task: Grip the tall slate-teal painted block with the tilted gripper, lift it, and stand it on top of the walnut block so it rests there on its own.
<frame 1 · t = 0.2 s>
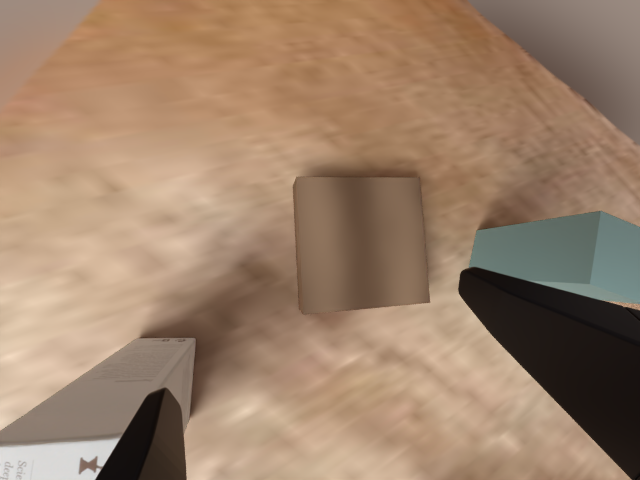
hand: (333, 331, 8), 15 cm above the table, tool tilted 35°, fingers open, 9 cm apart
teal block: (492, 260, 27), on the table
skincare box: (166, 380, 21), on the table
walnut block: (352, 244, 25), on the table
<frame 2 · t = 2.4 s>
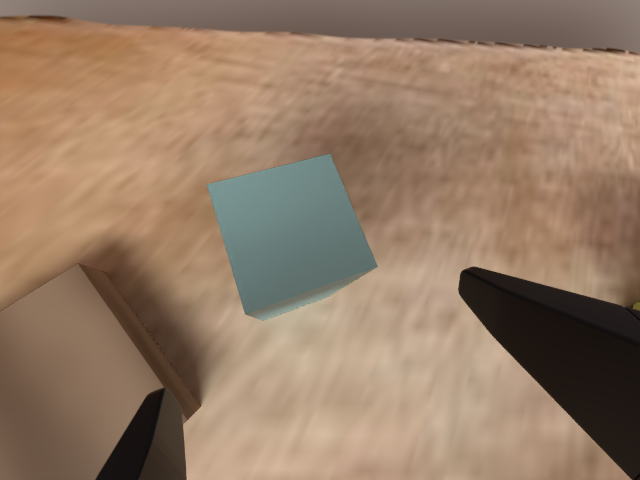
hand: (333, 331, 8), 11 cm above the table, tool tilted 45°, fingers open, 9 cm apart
teal block: (285, 275, 19), on the table
walnut block: (71, 398, 16), on the table
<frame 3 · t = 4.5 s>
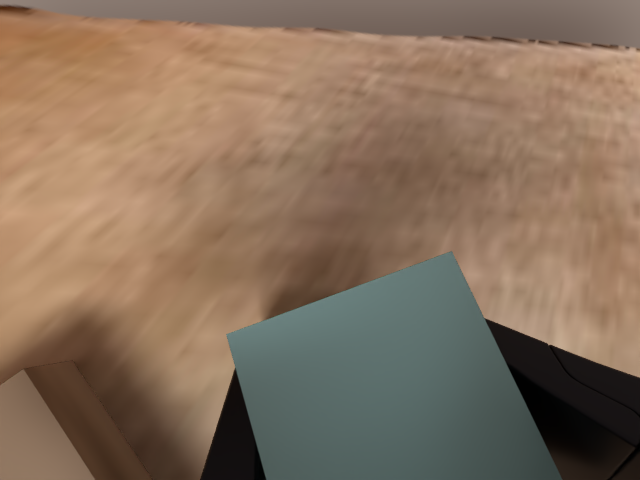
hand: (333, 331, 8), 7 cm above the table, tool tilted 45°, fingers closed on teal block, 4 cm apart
teal block: (318, 355, 14), on the table, touching gripper
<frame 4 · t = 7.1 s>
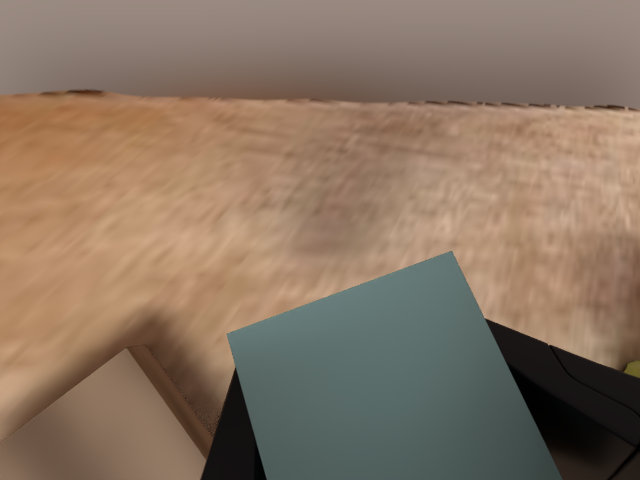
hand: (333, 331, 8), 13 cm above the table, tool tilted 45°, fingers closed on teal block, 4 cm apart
teal block: (319, 355, 14), point 7 cm above the table, touching gripper
walnut block: (120, 464, 18), on the table
when the fingers open (11 cm above the table, at t = 9.9 s): teal block drops 2 cm, resting on walnut block.
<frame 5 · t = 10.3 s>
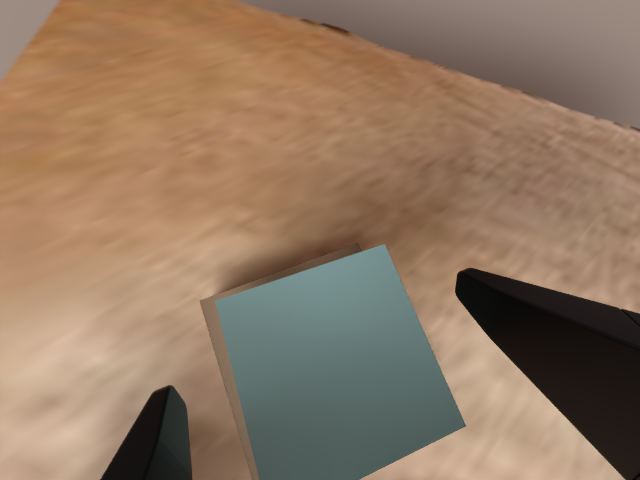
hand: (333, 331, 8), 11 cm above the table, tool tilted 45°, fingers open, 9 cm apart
teal block: (311, 347, 16), point 3 cm above the table, touching walnut block
walnut block: (309, 347, 19), on the table, touching teal block
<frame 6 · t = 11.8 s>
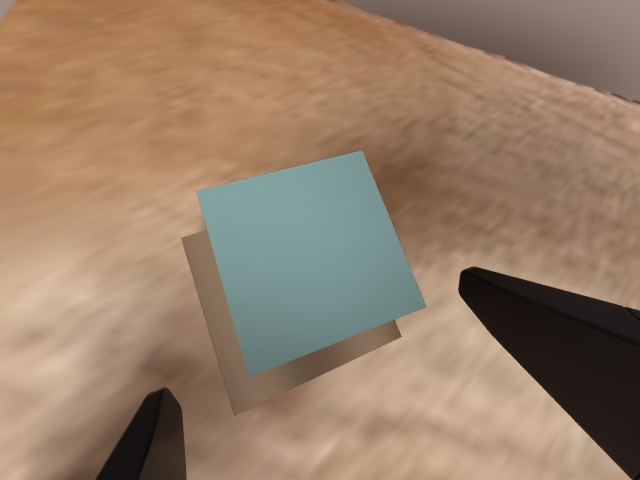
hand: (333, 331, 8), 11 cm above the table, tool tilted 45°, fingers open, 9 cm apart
teal block: (291, 285, 17), point 3 cm above the table, touching walnut block
walnut block: (290, 292, 20), on the table, touching teal block
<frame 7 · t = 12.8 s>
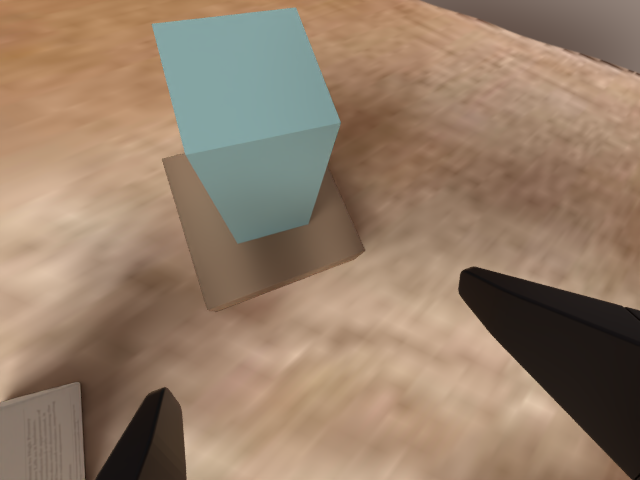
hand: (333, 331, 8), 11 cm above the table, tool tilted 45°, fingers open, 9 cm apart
teal block: (263, 200, 18), point 2 cm above the table
skincare box: (49, 450, 15), on the table
walnut block: (265, 221, 21), on the table
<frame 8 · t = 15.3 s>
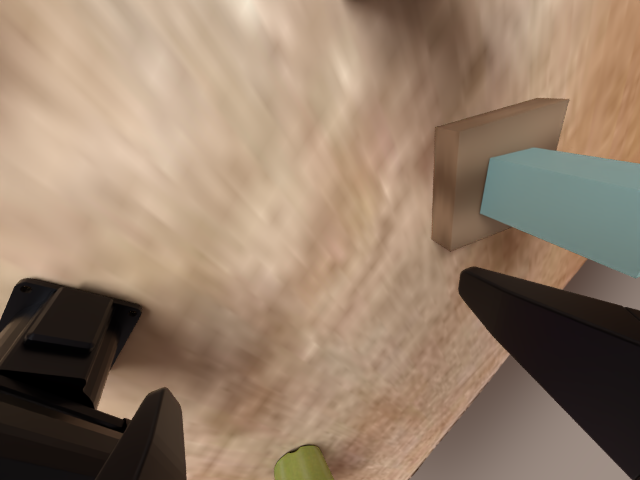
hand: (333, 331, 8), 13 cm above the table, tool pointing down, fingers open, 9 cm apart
plant pot: (297, 457, 36), on the table
teal block: (506, 181, 23), point 3 cm above the table
walnut block: (476, 171, 26), on the table
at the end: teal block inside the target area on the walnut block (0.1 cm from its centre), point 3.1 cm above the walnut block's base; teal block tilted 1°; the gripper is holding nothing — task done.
